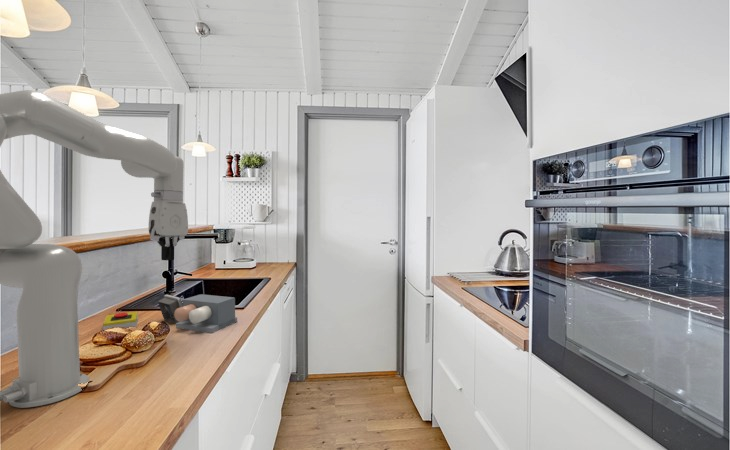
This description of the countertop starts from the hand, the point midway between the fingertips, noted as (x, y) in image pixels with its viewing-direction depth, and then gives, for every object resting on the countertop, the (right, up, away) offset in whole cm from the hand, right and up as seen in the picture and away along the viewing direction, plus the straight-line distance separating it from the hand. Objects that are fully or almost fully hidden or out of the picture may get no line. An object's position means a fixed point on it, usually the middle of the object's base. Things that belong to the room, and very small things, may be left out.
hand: (167, 259), depth 102 cm
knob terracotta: (+1, -21, +14) cm, 25 cm away
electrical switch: (-9, -24, +20) cm, 32 cm away
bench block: (+4, -24, +16) cm, 29 cm away
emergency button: (-25, -25, +16) cm, 39 cm away
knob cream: (+6, -21, +12) cm, 25 cm away
